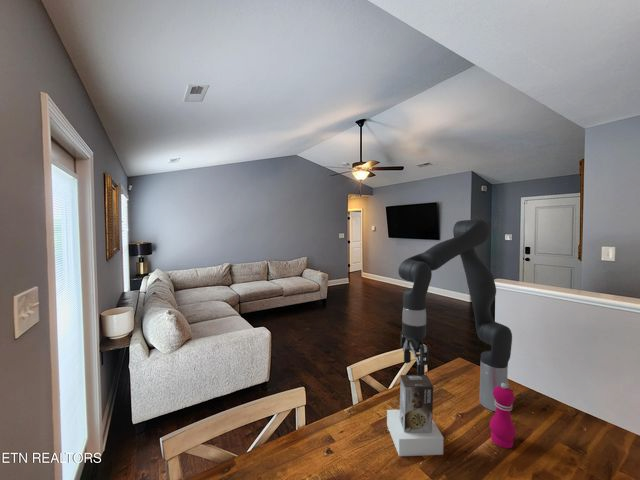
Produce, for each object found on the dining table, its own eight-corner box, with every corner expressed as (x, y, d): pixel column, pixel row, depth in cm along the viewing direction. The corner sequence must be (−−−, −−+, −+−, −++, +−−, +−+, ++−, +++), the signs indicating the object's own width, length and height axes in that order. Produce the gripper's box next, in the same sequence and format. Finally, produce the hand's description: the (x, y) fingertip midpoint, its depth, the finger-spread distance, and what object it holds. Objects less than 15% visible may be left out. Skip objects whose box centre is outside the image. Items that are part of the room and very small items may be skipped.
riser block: (425, 424, 105) (425, 408, 105) (443, 455, 91) (443, 437, 91) (387, 425, 105) (387, 409, 104) (399, 457, 91) (399, 439, 90)
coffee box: (425, 418, 99) (427, 374, 97) (432, 433, 93) (434, 386, 91) (398, 417, 99) (400, 374, 97) (403, 432, 93) (405, 386, 91)
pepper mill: (511, 436, 99) (513, 379, 97) (518, 452, 92) (520, 391, 90) (487, 431, 101) (489, 375, 100) (492, 446, 94) (494, 387, 93)
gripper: (437, 327, 89) (436, 378, 91) (413, 313, 103) (412, 357, 104) (415, 329, 88) (414, 381, 89) (393, 314, 102) (393, 359, 103)
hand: (413, 368), depth 97 cm, fingers open, 8 cm apart
